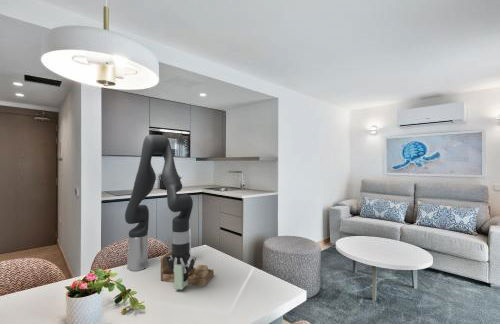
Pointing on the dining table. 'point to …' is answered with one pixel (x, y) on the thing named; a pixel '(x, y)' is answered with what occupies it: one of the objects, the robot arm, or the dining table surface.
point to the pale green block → (179, 277)
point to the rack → (168, 274)
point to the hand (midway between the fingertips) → (181, 280)
